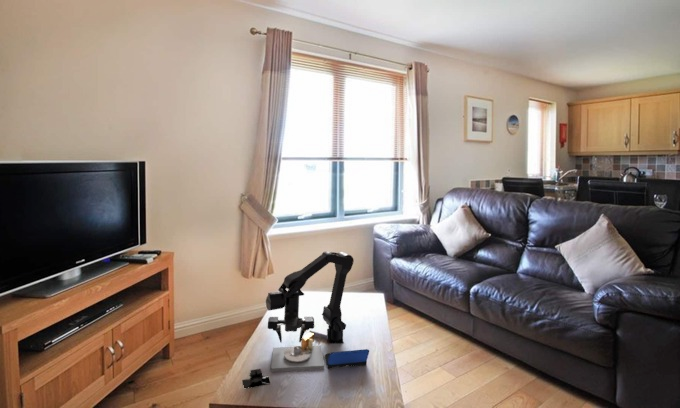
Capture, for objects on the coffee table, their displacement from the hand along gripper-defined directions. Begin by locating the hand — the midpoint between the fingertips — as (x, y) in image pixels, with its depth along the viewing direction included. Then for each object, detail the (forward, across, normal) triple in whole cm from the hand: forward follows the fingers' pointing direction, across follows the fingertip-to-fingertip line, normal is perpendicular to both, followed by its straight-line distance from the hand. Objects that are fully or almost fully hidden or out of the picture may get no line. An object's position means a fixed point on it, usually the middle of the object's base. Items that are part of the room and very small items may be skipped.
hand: (290, 342), depth 152 cm
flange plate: (+2, +4, -4) cm, 7 cm away
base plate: (+4, +3, -6) cm, 8 cm away
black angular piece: (+6, -12, -19) cm, 23 cm away
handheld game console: (+4, +22, -10) cm, 25 cm away
